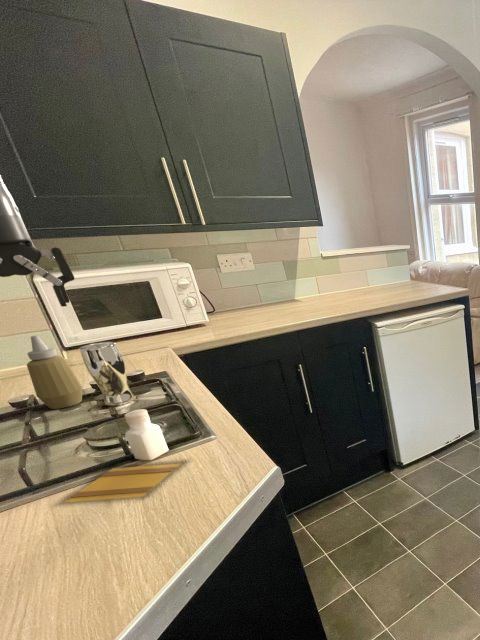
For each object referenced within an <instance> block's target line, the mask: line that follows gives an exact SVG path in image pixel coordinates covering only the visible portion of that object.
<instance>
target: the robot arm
mask: <svg viewBox="0 0 480 640" xmlns="http://www.w3.org/2000/svg"><path fill="white" fill-rule="evenodd" d="M42 256H45V257H47V258H48V260H50V261H53V262H54V261H55V263H56V265H57V267H58V270H60V272H61V274H62V275H60V276H57V277H56V276H55V275H53V274H51V273H50V272H48V271H47V270H45V269H44V268H42V267H40V266H39V265H38V264H39V262H40V260H41V258H42ZM32 273H35V274H37V275H38V276H39V277H41V278H43V279H45V280H46V281H47V282H49V283H51V284H52V285H51V287H52V289H53V291H54V294H55V296H56V298H57V301H58V303H59V305H60V307H68V305H67V304H68V303H70V301H71V299H70V297H69V294H68V292H67V290H66V288H65V284H67V283H69V282H73V281H74V280H75V278H76V277H75V275H74V274H73V272H72V269H71V268H70V265H69V263H68V262H67V259H66V258H65V256H64V253H63V251H62V249H60V248H59V247H56V246H52V247H50V248H42V249H38V248H37V247H36V246H35V245H34V243H33V241H32V238H31V236H30V234H29V231H28V230H27V228H26V225H25V223H24V221H23V217H22V216H21V213H20V209H19V207H18V206H17V204H16V202H15V200H14V198H13V196H12V194H11V193H10V191H9V190H8V188H7V186H6V184H5V181H4V180H3V177H2V175H1V174H0V278H8V277H12V276H29V275H31V274H32Z"/></svg>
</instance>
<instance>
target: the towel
mask: <svg viewBox="0 0 480 640" xmlns="http://www.w3.org/2000/svg"><path fill="white" fill-rule="evenodd" d="M180 465H181V463H169V464H156V465H154V464H153V465H145V466H144V465H143V466H140V465H139V466H129V467H114V468H113V467H112V468H111V469H109V470H108V471H106V472H104V473H103V474H102V475H100V477H98V478H97V479H96V480H94V481H93V482H91V483H90V484H88V485H87V486H86V487H84V488H82V489H80V491H77V492H75V493H74V494H72V496H70V498H69V499H67V500H65V501H64V503H65V504H67V503H78V502H79V503H80V502H92V501H103V500H117V499H131V498H132V499H133V498H143V497H144V496H145V495H146V494H148V493H149V492H150V491H151V490H152V489H153V488H154V487H155V486H157V485H158V484H159V483H160V482H161V481H163V480H164V479H165V478H166V477H167V476H168V475H170V474H171V473H172V472H173V471H174V470H176V469H177V468H178V467H179V466H180Z"/></svg>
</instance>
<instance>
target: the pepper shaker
mask: <svg viewBox="0 0 480 640" xmlns="http://www.w3.org/2000/svg"><path fill="white" fill-rule="evenodd" d="M149 415H150V414H149V413H148V410H147V409H144V408H142V409H141V408H140V409H135V410H134V409H133V410H131V411H129V412H127V413H125V414H124V418H125V421H126V423H127V425H128V427H129V429H128V430H127V431H126V432H125V433H124V435H125V438H126V440H127V442H128V445H129V447H130V450H131V452H132V455H133V456H134V459H135V460H141V461H152V460H154V459H156V458H158V457H160V456H162V455H164V454H165V453H167V452H169V450H170V449H169V447H168V444H167V442H166V439H165V437H164V434H163V431H162V429H161V426H160V425H159V424H156V423H152V422H151V419H150V418H151V417H150V416H149Z"/></svg>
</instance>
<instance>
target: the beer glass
mask: <svg viewBox="0 0 480 640" xmlns="http://www.w3.org/2000/svg"><path fill="white" fill-rule="evenodd" d="M78 349H79V352H80V355H81V358H82V359H81V360H82V362H83V363H84V366H85V368H86V370H87V372H88V374H89V376H90V377H91V378H92V380H93V381H94V383H95V384H96V385H97V386H98V388H99V389H100V392H101V394H102V397H103V404H104V405H105V407H119V406H123V405H125V404H128V403H131V402H133V401H135V400H136V399H137V397H136V394H135V393H134V392H133V391H132V389H131V388H130V385H129V381H128V375H127V368H126V364H125V361H124V358H123V356H122V353H121V351H120V349H119V348H118V346H117V344H116V342H115V341H101V342H96V343H95V342H94V343H90V344H85V345H82V346H80V347H78Z"/></svg>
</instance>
